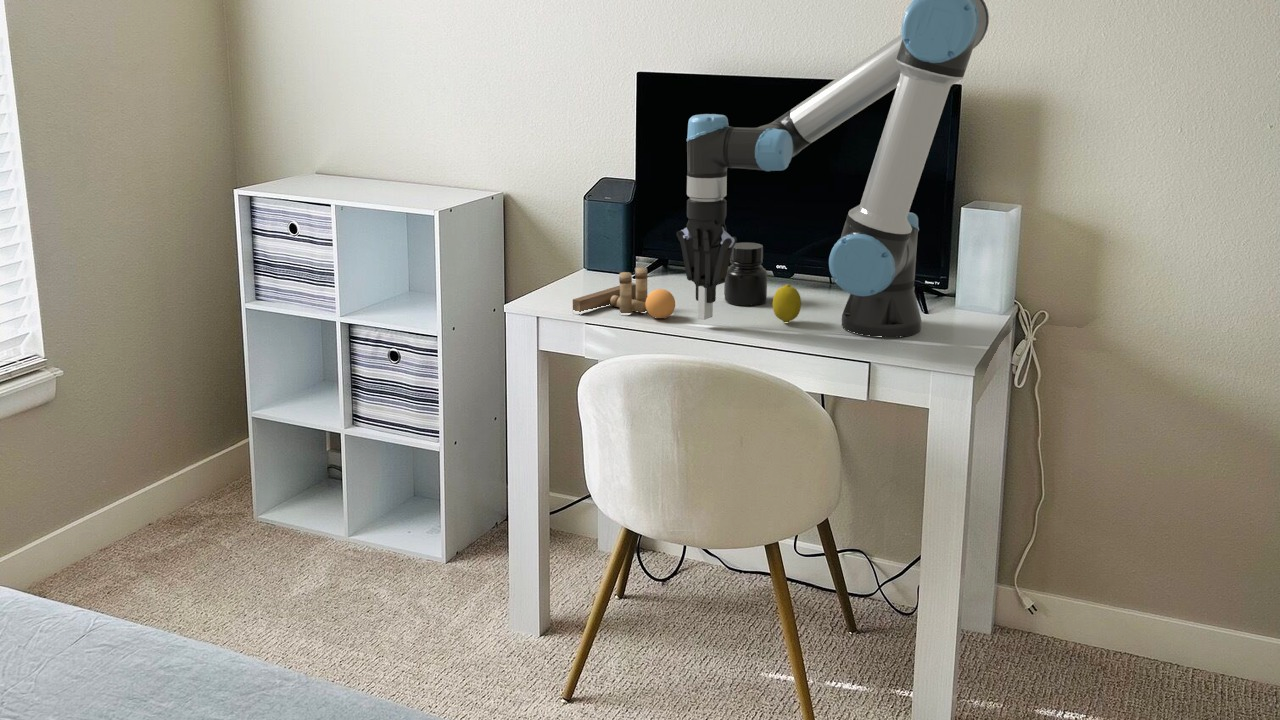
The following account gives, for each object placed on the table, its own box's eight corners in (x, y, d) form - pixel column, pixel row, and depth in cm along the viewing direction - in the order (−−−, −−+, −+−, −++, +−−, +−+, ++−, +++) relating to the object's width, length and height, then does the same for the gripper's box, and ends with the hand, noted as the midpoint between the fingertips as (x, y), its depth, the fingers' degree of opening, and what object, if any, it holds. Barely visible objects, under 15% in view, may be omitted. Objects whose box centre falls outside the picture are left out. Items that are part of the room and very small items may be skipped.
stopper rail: (636, 297, 250) (636, 283, 250) (580, 315, 237) (579, 301, 236) (629, 296, 252) (629, 282, 251) (572, 313, 239) (572, 299, 238)
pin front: (649, 301, 238) (618, 294, 244) (641, 302, 236) (610, 295, 242) (648, 313, 239) (617, 306, 244) (640, 314, 237) (609, 307, 242)
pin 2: (650, 308, 242) (650, 268, 239) (642, 311, 240) (642, 271, 237) (640, 306, 243) (640, 267, 241) (633, 309, 242) (632, 269, 239)
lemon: (796, 328, 227) (798, 288, 225) (769, 325, 229) (770, 286, 227) (803, 321, 232) (804, 282, 230) (775, 318, 234) (777, 279, 232)
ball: (654, 304, 239) (677, 319, 236) (636, 313, 235) (659, 327, 232) (661, 280, 236) (684, 294, 233) (643, 288, 231) (666, 302, 229)
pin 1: (634, 313, 238) (634, 273, 236) (626, 316, 236) (626, 275, 234) (625, 311, 240) (624, 271, 237) (617, 314, 238) (616, 273, 235)
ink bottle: (759, 294, 252) (760, 240, 249) (774, 304, 244) (776, 248, 241) (716, 298, 250) (717, 243, 246) (731, 308, 242) (732, 251, 238)
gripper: (746, 198, 220) (743, 319, 227) (691, 191, 228) (690, 308, 235) (723, 204, 214) (721, 327, 221) (667, 196, 222) (667, 316, 229)
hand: (705, 317), depth 228 cm, fingers closed
